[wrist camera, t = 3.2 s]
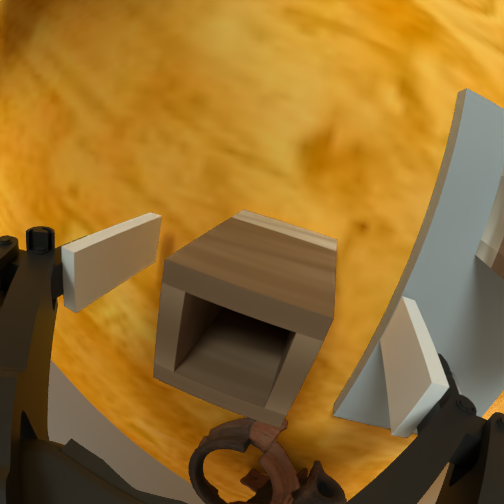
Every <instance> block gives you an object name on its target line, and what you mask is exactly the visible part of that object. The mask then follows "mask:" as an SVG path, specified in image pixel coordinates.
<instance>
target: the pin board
mask: <svg viewBox="0 0 504 504" xmlns="http://www.w3.org/2000/svg"><path fill="white" fill-rule="evenodd" d="M503 167H504V109H503V108H501V107H499V106H498V105H496V104H494V103H493V102H491V101H489V100H488V99H486V98H484V97H482V96H480V95H479V94H477V93H475V92H473V91H471V90H469V89H467V88H466V89H464V90H462V91H460V92H458V96H457V102H456V107H455V112H454V117H453V121H452V126H451V130H450V134H449V138H448V142H447V146H446V150H445V154H444V158H443V161H442V165H441V168H440V172H439V175H438V179H437V182H436V185H435V188H434V192H433V195H432V198H431V201H430V204H429V207H428V210H427V213H426V216H425V218H424V221H423V224H422V227H421V229H420V232H419V235H418V237H417V240H416V243H415V245H414V248H413V250H412V253H411V255H410V258H409V260H408V263H407V265H406V267H405V270H404V272H403V274H402V277H401V279H400V281H399V284H398V286H397V288H396V290H395V292H394V295H393V297H392V299H391V301H390V303H389V305H388V307H387V310H386V312H385V314H384V316H383V318H382V320H381V322H380V324H379V326H378V328H377V330H376V332H375V334H374V335H373V337H372V339H371V341H370V343H369V345H368V347H367V349H366V351H365V352H364V354H363V356H362V358H361V360H360V361H359V363H358V365H357V367H356V368H355V370H354V372H353V374H352V375H351V377H350V379H349V380H348V382H347V384H346V385H345V387H344V389H343V390H342V392H341V394H340V395H339V397H338V398H337V400H336V402H335V403H334V413H333V416H336V417H340V418H344V419H348V420H352V421H356V422H360V423H364V424H369V425H373V426H378V427H383V428H388V429H391V427H390V415H389V405H388V395H387V387H386V378H385V371H384V363H383V356H382V350H381V343H380V339H381V337H382V336H383V334H384V332H385V330H386V328H387V326H388V324H389V322H390V320H391V318H392V316H393V314H394V312H395V310H396V308H397V306H398V304H399V302H400V300H401V297H402V296H403V297H406V298H409V299H412V300H415V302H416V304H417V306H418V309H419V311H420V313H421V315H422V318H423V320H424V322H425V325H426V327H427V329H428V332H429V334H430V337H431V339H432V342H433V344H434V347H435V349H436V352H437V353H439V354H441V355H442V356H443V357H444V358H445V360H446V361H447V362H448V365H449V367H450V371H451V372H452V375H453V378H454V380H455V383H456V386H457V388H458V391H459V394H460V395H464V396H465V397H467V398H469V399H470V400H471V401H472V402H473V404H474V405H475V407H476V411H477V413H476V415H477V416H479V417H482V416H483V415H484V413H485V412H486V411H487V410H488V409H489V407H490V406H491V405H492V404H493V403H494V401H495V400H496V399H497V397H498V396H499V395H500V394H501V392H502V391H503V390H504V280H503V279H502V278H501V277H500V276H499V275H498V274H497V273H496V272H494V271H493V270H492V269H491V268H490V267H489V266H488V265H487V264H485V263H484V262H483V261H482V260H481V259H480V258H478V257H477V256H476V255H475V253H476V250H477V248H478V245H479V243H480V240H481V237H482V235H483V232H484V229H485V227H486V224H487V221H488V218H489V215H490V212H491V209H492V206H493V203H494V200H495V196H496V193H497V190H498V186H499V183H500V179H501V175H502V171H503ZM413 433H415V434H418V433H417V428H416V429H415V430H414V431H413Z"/></svg>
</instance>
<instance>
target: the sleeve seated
mask: <svg viewBox="0 0 504 504" xmlns="http://www.w3.org/2000/svg"><path fill="white" fill-rule="evenodd" d="M475 255H476V256H477V257H478V258H480V259H481V260H482V261H483V262H484V263H485V264H487V265H488V266H489V267H490V268H491V269H492V270H493V271H494V272H496V273H497V274H498V275H499V276H500V277H501V278H502V279H503V280H504V167H503V171H502V175H501V179H500V183H499V186H498V190H497V193H496V196H495V200H494V203H493V206H492V209H491V212H490V215H489V218H488V221H487V224H486V227H485V229H484V232H483V235H482V237H481V240H480V243H479V245H478V248H477V250H476V253H475Z"/></svg>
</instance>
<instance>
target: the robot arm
mask: <svg viewBox="0 0 504 504" xmlns="http://www.w3.org/2000/svg"><path fill="white" fill-rule="evenodd" d="M161 220H162V216H160V215H157V214H154V213H151V212H150V213H147V214H144V215H141V216H139V217H136V218H133V219H130V220H128V221H125V222H122V223H120V224H117V225H114V226H112V227H109V228H106V229H104V230H101V231H99V232H96V233H94V234H91V235H88V236H84V237H82V238H79V239H78V240H74V241H72V242H69V243H67V244H64V245H62V246H60V247H57V248H55V232H54V230H53V229H52V228H49V227H44V226H37V227H32V228H30V229H28V230H27V231H26V246H27V251H24V250H20V249H19V246H18V239H17V238H16V237H12V236H8V235H7V236H2V237H0V504H187V503H185V502H182V501H179V500H174V499H169V498H165V497H161V496H157V495H153V494H149V493H145V492H142V491H139V490H136V489H134V488H133V487H131V486H130V485H129V484H128V483H127V482H126V481H125V480H124V479H122V478H121V477H120V476H119V475H118V474H117V473H116V472H115V471H114V470H113V469H112V468H110V466H109V465H108V464H106V463H105V462H104V461H103V460H102V459H101V458H99V457H98V456H96V455H95V454H93V453H91V452H90V451H88V450H87V449H85V448H84V447H83V446H81V445H79V444H78V443H77V442H75V441H74V440H73V439H70V440H69V442H68V443H67V444H66V445H63V444H60V443H57V442H53V441H49V437H48V429H47V411H48V385H49V370H50V359H51V350H52V341H53V333H54V326H55V319H56V313H57V307H58V301H57V297H59V296H61V295H62V294H63V298H64V306H65V307H67V308H68V309H70V310H72V311H73V312H75V313H77V312H79V311H80V310H82V309H83V308H85V307H86V306H88V305H89V304H91V303H92V302H94V301H95V300H97V299H98V298H100V297H101V296H103V295H104V294H106V293H108V292H109V291H111V290H112V289H114V288H115V287H117V286H118V285H120V284H121V283H123V282H124V281H126V280H128V279H129V278H131V277H132V276H134V275H135V274H137V273H139V272H140V271H142V270H143V269H145V268H147V267H148V266H150V265H151V264H153V263H154V262H156V255H157V247H158V240H159V233H160V226H161ZM380 343H381V350H382V356H383V363H384V371H385V378H386V387H387V395H388V405H389V415H390V427H391V435H394V436H400V437H405V438H408V437H409V436H410V435H411V434H412V433H413V431H414V430H415V429H416V428H417V433H418V436H417V437H416V439H415V440H414V441H413V442H412V443H411V444H410V445H409V446H408V447H407V448H406V449H405V450H404V451H403V452H402V453H401V454H400V455H399V456H398V457H397V458H396V459H395V460H394V461H393V462H392V463H391V464H390V465H389V466H388V467H387V468H386V469H385V470H384V471H383V472H382V473H380V474H379V475H378V476H377V477H376V478H375V479H374V480H373V481H372V482H370V483H369V484H368V485H367V486H366V487H365V488H363V489H362V490H361V491H360V492H359V493H357V494H356V495H355V496H354V497H353V498H351V499H350V500H349V501H348V502H346V503H345V504H417V503H418V502H419V500H420V499H421V498H422V497H423V495H424V494H425V493H426V492H427V490H428V489H429V488H430V486H431V485H432V484H433V482H434V481H435V480H436V478H437V477H438V476H439V474H440V473H441V471H442V470H443V469H444V467H445V466H446V464H447V463H448V462H450V464H449V467H448V470H447V473H446V476H445V479H444V482H443V485H442V488H441V491H440V493H439V496H438V499H437V501H436V504H504V414H502V413H500V412H495V413H494V414H493V415H492V416H491V417H490V418H489V419H488V420H486V419H483V418H481V417H479V416H477V415H476V413H477V411H476V407H475V405H474V404H473V402H472V401H471V400H470V399H469V398H467V397H465V396H464V395H460V394H459V391H458V388H457V386H456V383H455V380H454V378H453V375H452V372H451V371H450V367H449V365H448V362H447V361H446V360H445V358H444V357H443V356H442V355H441V354H439V353H437V352H436V349H435V347H434V344H433V342H432V339H431V337H430V334H429V332H428V329H427V327H426V325H425V322H424V320H423V318H422V315H421V313H420V311H419V309H418V306H417V304H416V302H415V300H412V299H409V298H406V297H403V296H402V297H401V300H400V302H399V304H398V306H397V308H396V310H395V312H394V314H393V316H392V318H391V320H390V322H389V324H388V326H387V328H386V330H385V332H384V334H383V336H382V337H381V339H380Z"/></svg>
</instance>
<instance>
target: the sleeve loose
mask: <svg viewBox="0 0 504 504" xmlns="http://www.w3.org/2000/svg"><path fill="white" fill-rule="evenodd" d="M336 249H337V239H334V238H331V237H328V236H325V235H322V234H319V233H316V232H313V231H310V230H307V229H304V228H301V227H298V226H294V225H291V224H288V223H285V222H282V221H279V220H276V219H273V218H269V217H266V216H263V215H260V214H257V213H253V212H250V211H247V210H242V211H241V212H239V213H237V214H236V215H234V216H232V217H231V218H229V219H228V220H226V221H224V222H223V223H221V224H219V225H218V226H216V227H215V228H213V229H211V230H210V231H208V232H207V233H205V234H203V235H202V236H200V237H199V238H197V239H195V240H194V241H192V242H191V243H189V244H187V245H186V246H184V247H183V248H181V249H180V250H178V251H176V252H175V253H173V254H172V255H170V256H169V257H167V258H166V259H165V263H164V270H163V278H162V286H161V295H160V304H159V313H158V324H157V335H156V347H155V360H154V375H153V377H154V378H156V379H158V380H160V381H162V382H164V383H166V384H168V385H170V386H173V387H175V388H177V389H179V390H181V391H184V392H186V393H188V394H190V395H193V396H195V397H197V398H200V399H202V400H204V401H207V402H209V403H212V404H214V405H217V406H219V407H222V408H224V409H227V410H229V411H232V412H235V413H237V414H240V415H243V416H246V417H248V418H251V419H254V420H257V421H260V422H263V423H266V424H269V425H272V426H275V427H278V428H280V426H281V424H282V422H283V420H284V419H285V417H286V415H287V413H288V411H289V409H290V407H291V406H292V404H293V402H294V400H295V398H296V396H297V394H298V392H299V390H300V388H301V386H302V384H303V382H304V380H305V378H306V376H307V374H308V372H309V370H310V368H311V366H312V364H313V362H314V360H315V358H316V356H317V354H318V352H319V350H320V347H321V345H322V343H323V341H324V339H325V337H326V334H327V332H328V330H329V328H330V325H331V323H332V321H333V319H334V303H335V282H336Z"/></svg>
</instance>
